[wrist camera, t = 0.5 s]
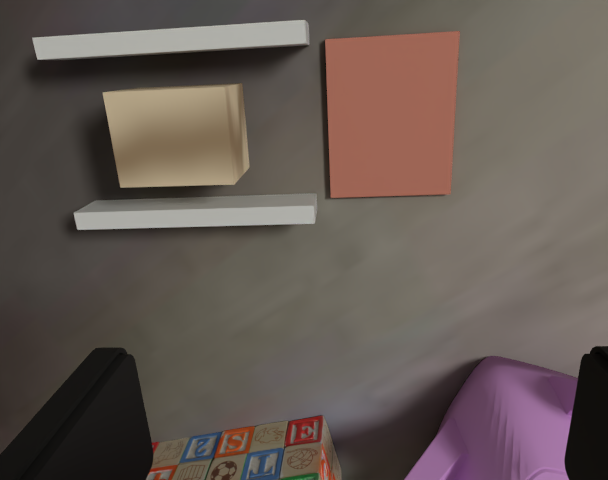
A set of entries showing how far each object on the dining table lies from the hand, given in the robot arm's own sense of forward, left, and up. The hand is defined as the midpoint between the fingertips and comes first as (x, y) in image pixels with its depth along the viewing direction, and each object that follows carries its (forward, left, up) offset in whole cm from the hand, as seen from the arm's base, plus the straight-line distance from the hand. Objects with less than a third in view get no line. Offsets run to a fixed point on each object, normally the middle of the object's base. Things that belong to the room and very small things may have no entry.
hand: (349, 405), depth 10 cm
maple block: (-3, -10, -24) cm, 26 cm away
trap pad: (-3, +3, -24) cm, 24 cm away
